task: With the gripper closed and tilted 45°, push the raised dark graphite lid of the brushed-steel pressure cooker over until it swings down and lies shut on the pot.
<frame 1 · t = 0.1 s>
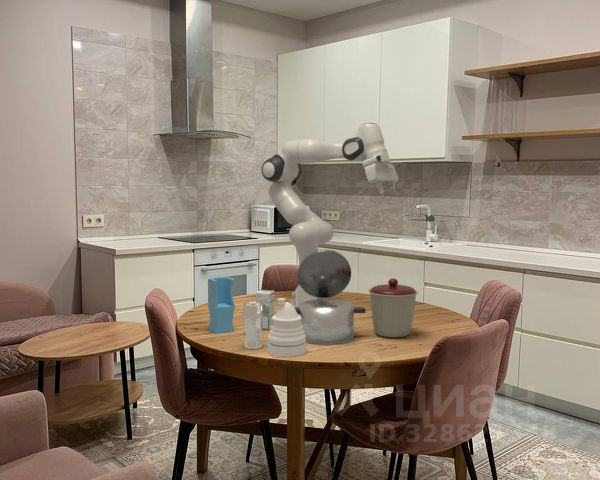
hand: (387, 193, 239), 52 cm above the table, tool tilted 20°, fingers open, 8 cm apart
cooker lid: (324, 273, 221), point 22 cm above the table, hinge at 70.0°
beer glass: (253, 347, 203), on the table
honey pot: (286, 352, 198), on the table
syrup box: (265, 328, 229), on the table
cooker pot: (326, 337, 216), on the table
canister: (392, 335, 220), on the table
blue toy chair: (221, 330, 225), on the table
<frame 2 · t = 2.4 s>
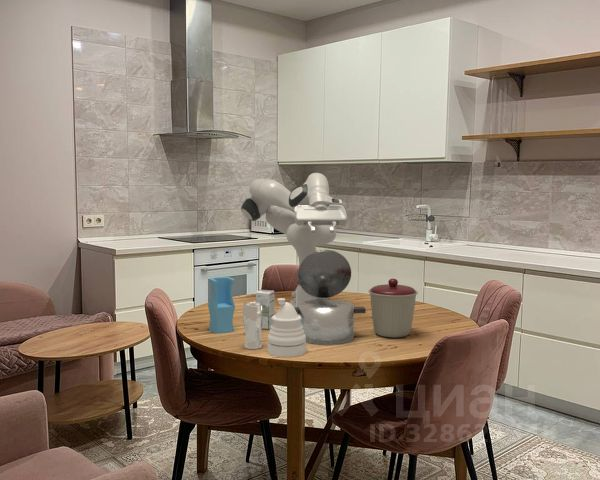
hand: (322, 232, 227), 37 cm above the table, tool tilted 45°, fingers open, 6 cm apart
nothing on the table moved.
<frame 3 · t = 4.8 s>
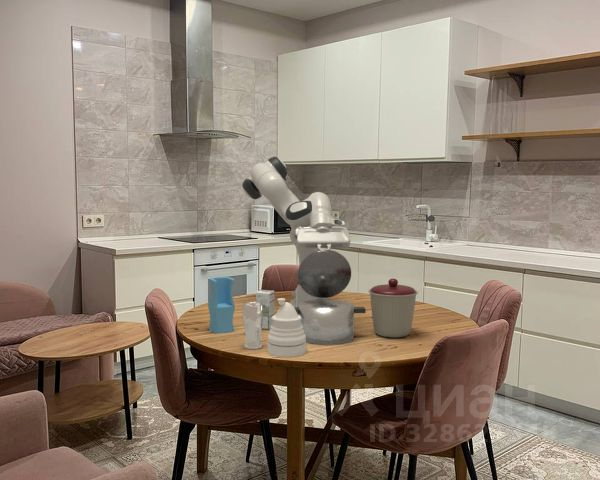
hand: (324, 255, 218), 29 cm above the table, tool tilted 45°, fingers closed, pressing on cooker lid
cooker lid: (324, 273, 221), point 22 cm above the table, hinge at 70.0°, touching gripper
everything else where it was.
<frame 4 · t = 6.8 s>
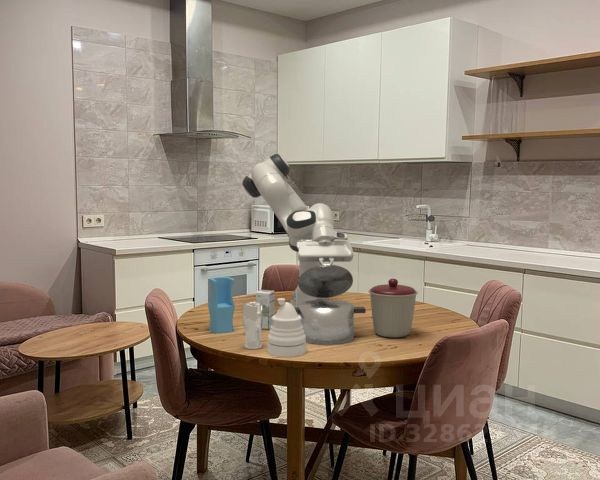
hand: (326, 269, 212), 25 cm above the table, tool tilted 45°, fingers closed, pressing on cooker lid
cooker lid: (325, 279, 218), point 21 cm above the table, hinge at 44.3°, touching gripper
everything else where it was.
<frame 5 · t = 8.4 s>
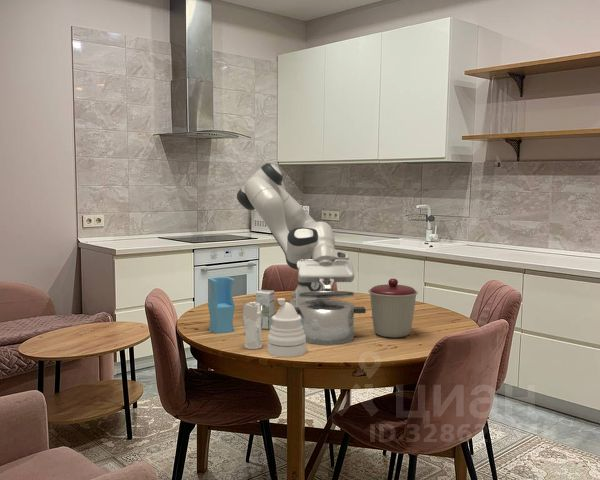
hand: (327, 290, 208), 18 cm above the table, tool tilted 45°, fingers closed
cooker lid: (326, 291, 215), point 17 cm above the table, hinge at 15.1°, touching gripper
everything else where it was.
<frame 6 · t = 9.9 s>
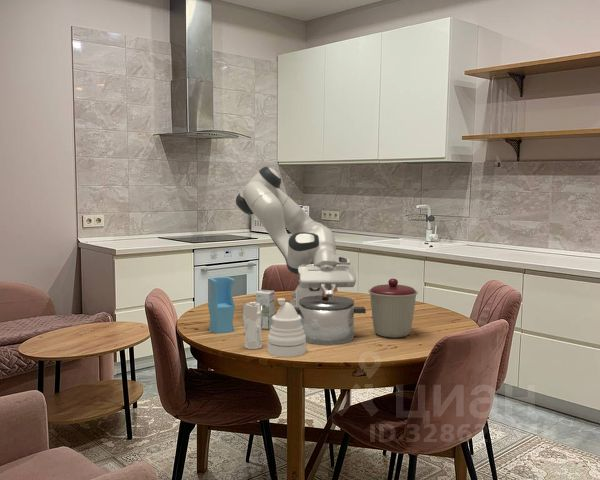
hand: (328, 296, 208), 17 cm above the table, tool tilted 45°, fingers closed
cooker lid: (326, 299, 214), point 14 cm above the table, hinge at -0.1°
everything else where it was.
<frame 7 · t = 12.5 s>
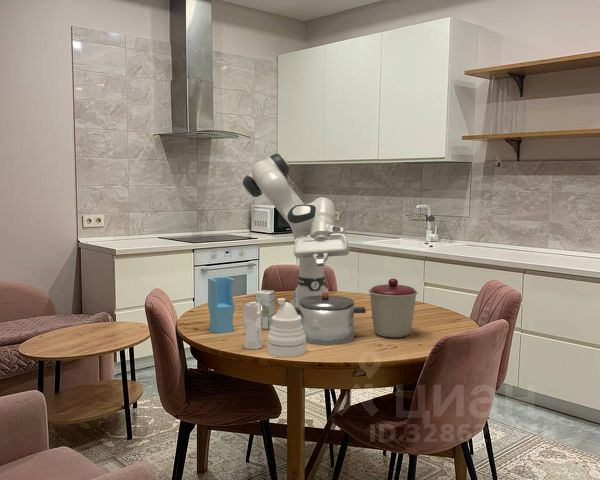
hand: (320, 265, 212), 27 cm above the table, tool tilted 45°, fingers closed
nothing on the table moved.
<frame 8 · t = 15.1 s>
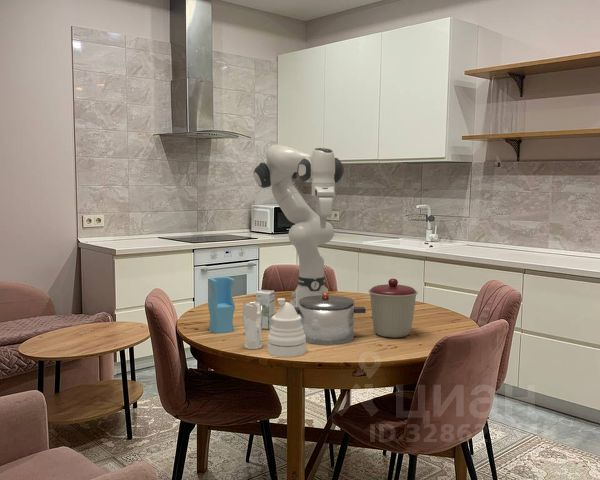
hand: (323, 227, 224), 39 cm above the table, tool pointing down, fingers closed
nothing on the table moved.
at the end: cooker lid at +0° (first picture: +70°); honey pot moved 0.3 cm from its start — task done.
